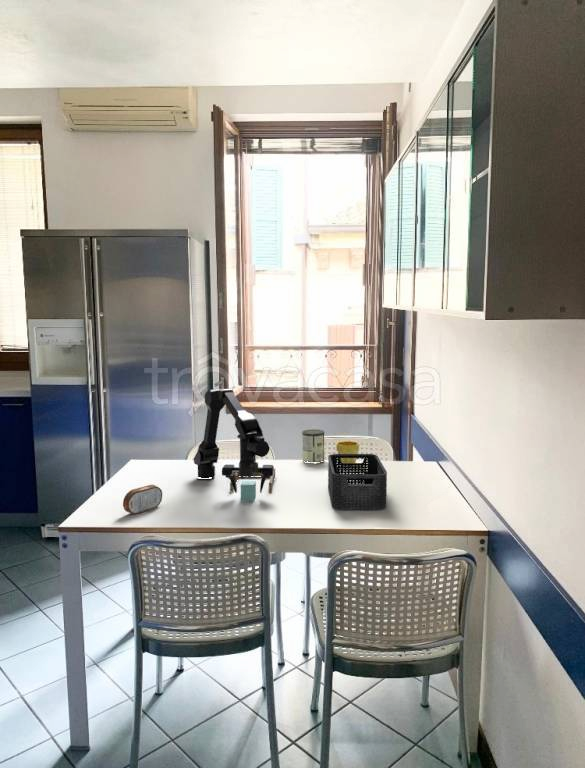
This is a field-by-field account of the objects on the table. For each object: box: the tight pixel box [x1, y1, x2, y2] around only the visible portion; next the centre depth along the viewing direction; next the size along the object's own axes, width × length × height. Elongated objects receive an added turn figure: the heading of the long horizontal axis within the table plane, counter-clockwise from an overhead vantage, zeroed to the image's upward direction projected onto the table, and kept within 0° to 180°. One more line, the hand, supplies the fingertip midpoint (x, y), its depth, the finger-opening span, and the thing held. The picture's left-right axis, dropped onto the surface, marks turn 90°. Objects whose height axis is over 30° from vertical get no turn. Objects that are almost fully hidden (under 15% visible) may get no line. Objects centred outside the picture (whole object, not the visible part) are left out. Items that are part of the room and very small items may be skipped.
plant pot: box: [335, 440, 360, 463], centre depth 258 cm, size 10×10×10 cm
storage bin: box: [327, 453, 388, 511], centre depth 210 cm, size 29×19×13 cm
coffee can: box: [301, 428, 325, 462], centre depth 263 cm, size 10×10×14 cm
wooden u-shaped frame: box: [229, 468, 276, 493], centre depth 229 cm, size 16×21×4 cm
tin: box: [122, 484, 163, 515], centre depth 197 cm, size 15×3×8 cm, turn 141°
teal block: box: [240, 480, 257, 502], centre depth 210 cm, size 5×5×6 cm
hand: (248, 492), depth 210 cm, fingers open, 9 cm apart
